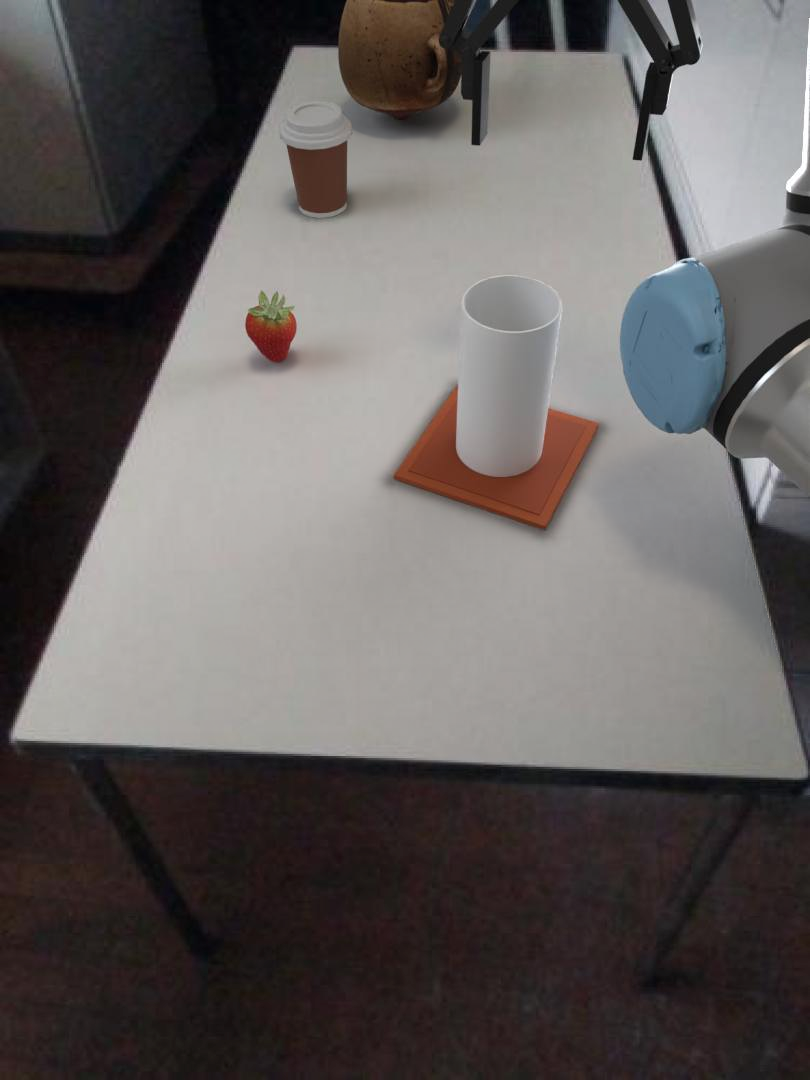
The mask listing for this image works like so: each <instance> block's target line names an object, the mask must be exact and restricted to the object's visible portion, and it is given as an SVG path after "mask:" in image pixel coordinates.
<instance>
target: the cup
mask: <svg viewBox="0 0 810 1080" xmlns="http://www.w3.org/2000/svg"><path fill="white" fill-rule="evenodd" d="M562 314H563V302H562V298H561V296H560V294H559V293H558V292H557V291H556V290H555V289H554V288H553V287H552V286H551V285H549V284H547V283H546V282H543V281H541V280H539V279H536V278H533V277H530V276H524V275H517V274H501V275H494V276H489V277H485V278H483V279H481V280H478V281H477V282H475V283H473V284H472V285H470V286H469V287H468V288H467V289H466V290H465V291H464V293H463V295H462V298H461V303H460V325H459V350H458V351H459V353H458V374H457V375H458V376H457V378H458V380H457V384H458V402H457V429H456V451H457V454H458V456H459V458H460V459H461V461H462V462H463V463H464V464H465V465H466V466H468V467H469V468H470V469H472V470H474V471H476V472H478V473H481V474H484V475H488V476H493V477H509V476H515V475H518V474H521V473H524V472H526V471H528V470H529V469H531V468H532V467H533V466H534V465H535V464H536V463H537V462H538V461H539V459H540V457H541V454H542V448H543V441H544V434H545V427H546V420H547V413H548V408H549V406H550V398H551V392H552V384H553V377H554V370H555V365H556V357H557V350H558V342H559V336H560V329H561V323H562V322H561V321H562Z"/></svg>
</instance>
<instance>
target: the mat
mask: <svg viewBox="0 0 810 1080" xmlns="http://www.w3.org/2000/svg"><path fill="white" fill-rule="evenodd" d="M457 402H458V383H457V384H456V386H455V387H454V389H453V390H452V392H451V393H450V395H449V396H448V397H447V398H446V400H445V401H444V403H443V404H442V406H441V407H440V408H439V410H437V411H438V412H437V413H436V414H435V416H433V418H432V420H431V421H430V423H429V424H428V425H427V427H426V428H425V430H424V431H423V433H422V434H421V435H420V436H419V439H418V440H417V441H416V443H415V444H414V445H413V447H412V448H411V450H410V451H409V453H408V454H407V455H406V457H405V458H404V460H403V461H402V463H401V464H400V466H398V468H397V470H396V471H395V472H394V473H393V479H394V480H395V481H399V482H401V483H405V484H407V485H411V486H414V487H416V488H420V489H423V490H425V491H428V492H431V493H434V494H437V495H440V496H443V497H446V498H449V499H452V500H454V501H458V502H460V503H463V504H466V505H470V506H472V507H474V508H475V507H476V508H477V509H478V508H479V509H481V510H484V511H487V512H490V513H493V514H495V515H499V516H501V517H504V518H507V519H510V520H514V521H515V522H519V523H522V524H525V525H527V526H531V527H534V528H537V529H539V530H543V531H546V530H547V528H548V526H549V524H550V522H551V520H552V518H553V516H554V514H555V512H556V510H557V508H558V506H559V505H560V502H562V501H561V500H562V499H563V497H564V495H565V493H566V491H567V489H568V487H569V485H570V483H571V481H572V479H573V478H574V475H575V473H576V472H577V470H578V468H579V465H580V463H581V461H582V459H583V458H584V456H585V454H586V453H587V450H588V448H589V445H590V444H591V442H592V440H593V439H594V436H595V434H596V432H597V431H598V428H599V424H600V423H599V422H596V421H593V420H590V419H586V418H583V417H579V416H576V415H573V414H570V413H566V412H562V411H559V410H556V409H552V408H549V407H548V413H547V420H546V427H545V434H544V441H543V448H542V454H541V457H540V459H539V461H538V462H537V463H536V464H535V465H534V466H533V467H532V468H531V469H529V470H528V471H526V472H524V473H521V474H518V475H515V476H509V477H493V476H488V475H484V474H481V473H478V472H476V471H474V470H472V469H470V468H469V467H468V466H466V465H465V464H464V463H463V462H462V461H461V459H460V458H459V456H458V454H457V451H456V429H457Z"/></svg>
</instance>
